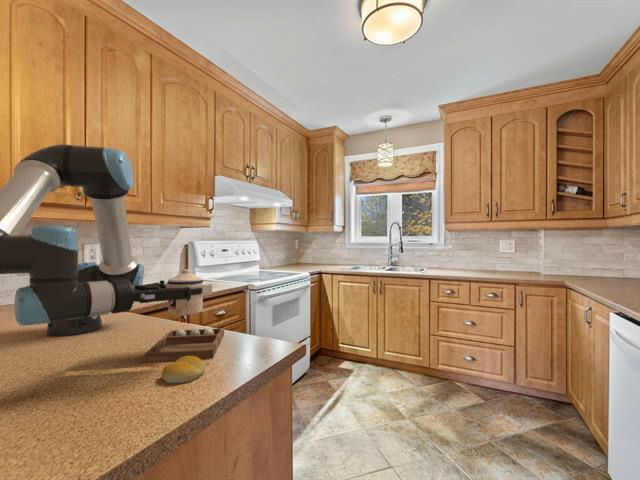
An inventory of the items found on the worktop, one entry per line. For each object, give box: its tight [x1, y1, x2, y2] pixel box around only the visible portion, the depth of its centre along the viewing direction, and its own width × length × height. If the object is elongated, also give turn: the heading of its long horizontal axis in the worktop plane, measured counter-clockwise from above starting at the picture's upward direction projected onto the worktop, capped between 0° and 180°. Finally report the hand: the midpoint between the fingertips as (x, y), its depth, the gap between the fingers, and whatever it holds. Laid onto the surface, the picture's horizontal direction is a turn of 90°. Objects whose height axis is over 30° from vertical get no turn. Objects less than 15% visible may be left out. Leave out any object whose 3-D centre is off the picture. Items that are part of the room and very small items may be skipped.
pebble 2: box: [190, 328, 200, 335], centre depth 96 cm, size 3×3×3 cm
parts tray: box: [144, 327, 225, 363], centre depth 89 cm, size 21×16×3 cm
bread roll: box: [161, 356, 206, 385], centre depth 72 cm, size 8×9×4 cm
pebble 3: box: [204, 328, 214, 335], centre depth 96 cm, size 3×3×3 cm
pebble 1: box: [175, 329, 186, 336], centre depth 95 cm, size 3×3×3 cm
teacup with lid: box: [166, 268, 204, 316], centre depth 86 cm, size 12×9×12 cm
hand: (199, 287), depth 89 cm, fingers closed on teacup with lid, 12 cm apart
